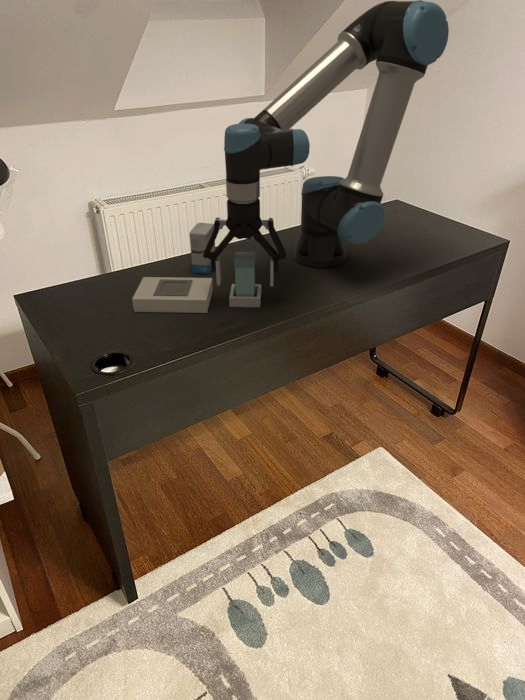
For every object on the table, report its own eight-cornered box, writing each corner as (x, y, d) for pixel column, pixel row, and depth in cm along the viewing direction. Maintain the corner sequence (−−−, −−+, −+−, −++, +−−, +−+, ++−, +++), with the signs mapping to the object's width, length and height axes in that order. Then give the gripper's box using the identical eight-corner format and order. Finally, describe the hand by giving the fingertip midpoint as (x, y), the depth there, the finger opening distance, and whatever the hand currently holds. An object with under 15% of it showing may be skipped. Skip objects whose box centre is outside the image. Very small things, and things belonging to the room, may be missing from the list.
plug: (255, 295, 135) (255, 252, 129) (254, 304, 131) (254, 260, 125) (237, 295, 135) (235, 251, 129) (235, 304, 131) (234, 260, 125)
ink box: (208, 274, 146) (206, 234, 139) (191, 273, 147) (188, 232, 140) (217, 261, 153) (214, 223, 146) (200, 260, 153) (198, 221, 147)
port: (212, 290, 138) (212, 277, 136) (207, 312, 128) (206, 299, 126) (145, 289, 138) (143, 276, 136) (134, 311, 128) (131, 297, 126)
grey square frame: (261, 293, 136) (261, 284, 135) (260, 307, 130) (260, 298, 129) (232, 292, 137) (231, 283, 135) (229, 306, 130) (229, 297, 129)
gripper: (297, 193, 122) (294, 277, 133) (191, 193, 122) (198, 276, 134) (298, 204, 115) (295, 291, 127) (186, 203, 116) (194, 289, 128)
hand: (245, 283), depth 131 cm, fingers open, 12 cm apart
